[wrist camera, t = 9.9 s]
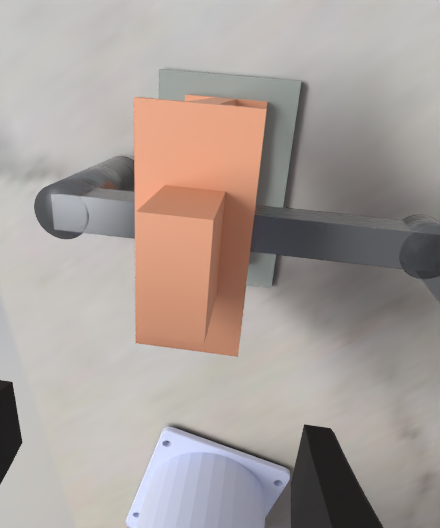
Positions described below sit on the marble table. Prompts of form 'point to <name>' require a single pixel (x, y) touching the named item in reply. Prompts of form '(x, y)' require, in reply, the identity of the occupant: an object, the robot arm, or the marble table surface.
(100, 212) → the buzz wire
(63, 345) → the marble table surface
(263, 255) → the pad
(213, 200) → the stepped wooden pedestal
